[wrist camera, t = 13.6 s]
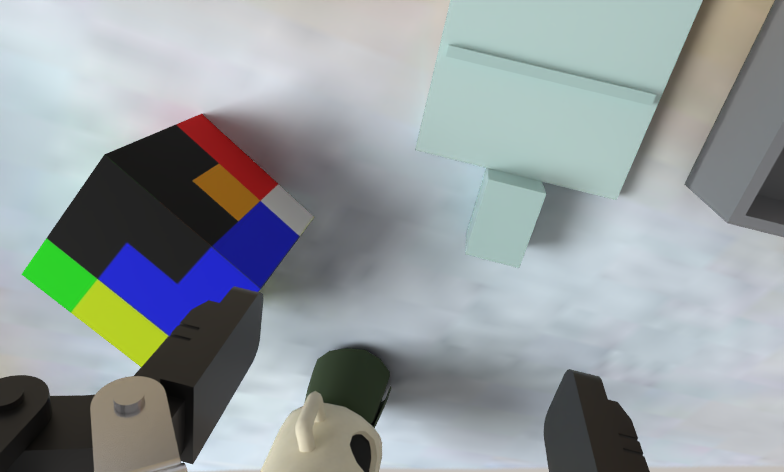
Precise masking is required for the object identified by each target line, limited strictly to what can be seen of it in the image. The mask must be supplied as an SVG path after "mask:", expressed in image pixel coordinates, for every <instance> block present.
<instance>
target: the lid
mask: <svg viewBox="0 0 784 472" xmlns="http://www.w3.org/2000/svg"><path fill="white" fill-rule="evenodd" d="M702 1H703V0H450V5H449V9H448V13H447V17H446V22H445V26H444V30H443V34H442V38H441V43H440V47H439V51H438V55H437V60H436V64H435V68H434V72H433V76H432V81H431V85H430V89H429V93H428V97H427V102H426V106H425V110H424V114H423V119H422V123H421V127H420V131H419V135H418V140H417V144H416V148H415V150H417V151H421V152H425V153H429V154H433V155H437V156H441V157H445V158H449V159H453V160H457V161H461V162H465V163H469V164H473V165H477V166H481V167H485V168H486V170H485V173H484V176H483V180H482V183H481V186H480V190H479V193H478V196H477V200H476V203H475V206H474V209H473V213H472V216H471V219H470V223H469V226H468V229H467V232H466V250H465V254H466V255H470V256H474V257H478V258H481V259H485V260H489V261H493V262H497V263H501V264H505V265H509V266H513V267H517V268H519V267H520V265H521V262H522V259H523V257H524V254H525V251H526V248H527V246H528V243H529V240H530V237H531V235H532V232H533V229H534V226H535V224H536V221H537V218H538V216H539V213H540V210H541V207H542V205H543V202H544V199H545V196H546V191H545V188H544V186H543V183H542V182H545V183H549V184H553V185H557V186H561V187H565V188H569V189H573V190H577V191H581V192H585V193H589V194H593V195H597V196H601V197H605V198H609V199H613V200H617V198H618V195H619V193H620V191H621V188H622V186H623V184H624V181H625V179H626V177H627V175H628V172H629V170H630V168H631V165H632V163H633V161H634V158H635V156H636V154H637V151H638V149H639V147H640V144H641V142H642V140H643V137H644V135H645V133H646V131H647V128H648V126H649V124H650V121H651V119H652V117H653V114H654V112H655V110H656V107H657V105H658V103H659V100H660V98H661V96H662V94H663V91H664V89H665V87H666V84H667V82H668V80H669V77H670V75H671V73H672V70H673V68H674V66H675V63H676V61H677V59H678V56H679V54H680V52H681V50H682V47H683V45H684V43H685V40H686V38H687V36H688V33H689V31H690V29H691V26H692V24H693V22H694V19H695V17H696V15H697V12H698V10H699V8H700V6H701V3H702Z"/></svg>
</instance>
